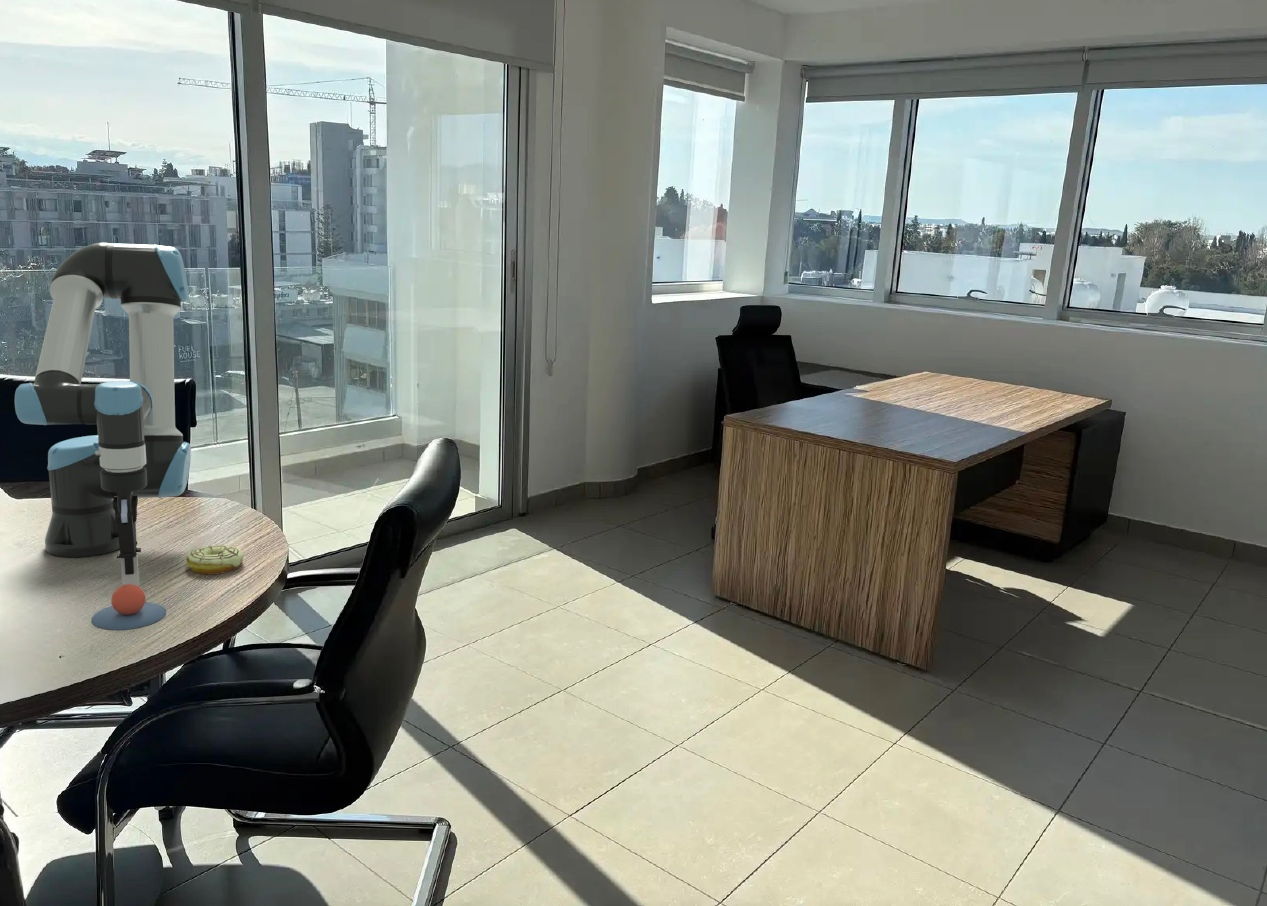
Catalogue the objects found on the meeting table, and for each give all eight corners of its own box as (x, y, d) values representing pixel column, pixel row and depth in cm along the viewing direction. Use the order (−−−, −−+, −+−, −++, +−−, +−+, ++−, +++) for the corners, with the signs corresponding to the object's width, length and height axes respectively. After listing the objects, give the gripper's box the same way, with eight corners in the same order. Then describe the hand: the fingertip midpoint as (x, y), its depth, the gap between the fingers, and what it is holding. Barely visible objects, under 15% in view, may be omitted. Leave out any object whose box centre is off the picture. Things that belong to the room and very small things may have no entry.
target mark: (85, 611, 176) (85, 610, 176) (156, 598, 183) (156, 597, 183) (99, 635, 167) (99, 634, 167) (174, 620, 174) (174, 619, 174)
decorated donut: (249, 571, 200) (248, 554, 199) (193, 580, 194) (192, 562, 193) (235, 555, 208) (235, 539, 207) (182, 563, 202) (181, 546, 201)
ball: (105, 604, 171) (108, 617, 175) (139, 608, 172) (141, 621, 177) (115, 576, 174) (118, 591, 178) (148, 581, 176) (150, 595, 180)
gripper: (102, 459, 181) (110, 577, 187) (97, 477, 170) (106, 603, 175) (147, 457, 184) (154, 574, 190) (145, 475, 173) (152, 598, 178)
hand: (131, 587), depth 183 cm, fingers closed
